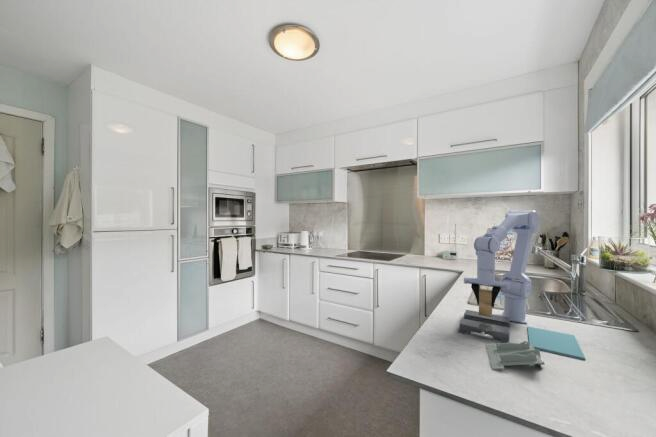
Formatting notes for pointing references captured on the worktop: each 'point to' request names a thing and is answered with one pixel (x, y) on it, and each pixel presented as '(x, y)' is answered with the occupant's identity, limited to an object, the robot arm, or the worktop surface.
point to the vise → (485, 326)
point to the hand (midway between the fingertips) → (485, 305)
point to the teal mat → (555, 342)
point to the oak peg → (485, 302)
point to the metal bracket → (512, 355)
